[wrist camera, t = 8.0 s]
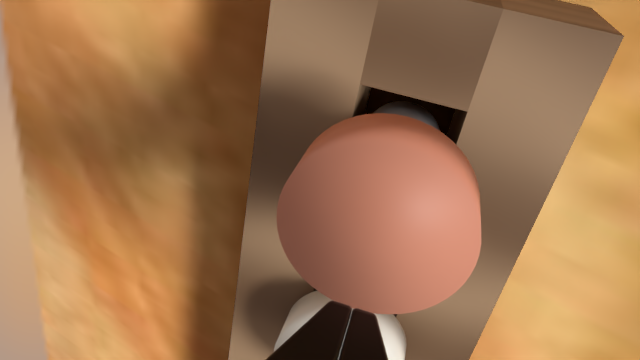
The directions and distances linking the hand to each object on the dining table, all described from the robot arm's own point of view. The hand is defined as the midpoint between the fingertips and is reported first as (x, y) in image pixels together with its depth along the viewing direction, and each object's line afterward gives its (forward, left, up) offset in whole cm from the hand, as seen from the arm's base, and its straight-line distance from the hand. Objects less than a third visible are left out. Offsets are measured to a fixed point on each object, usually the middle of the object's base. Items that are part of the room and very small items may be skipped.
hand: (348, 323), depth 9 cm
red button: (0, 0, -8) cm, 8 cm away
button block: (-8, 0, -12) cm, 14 cm away
